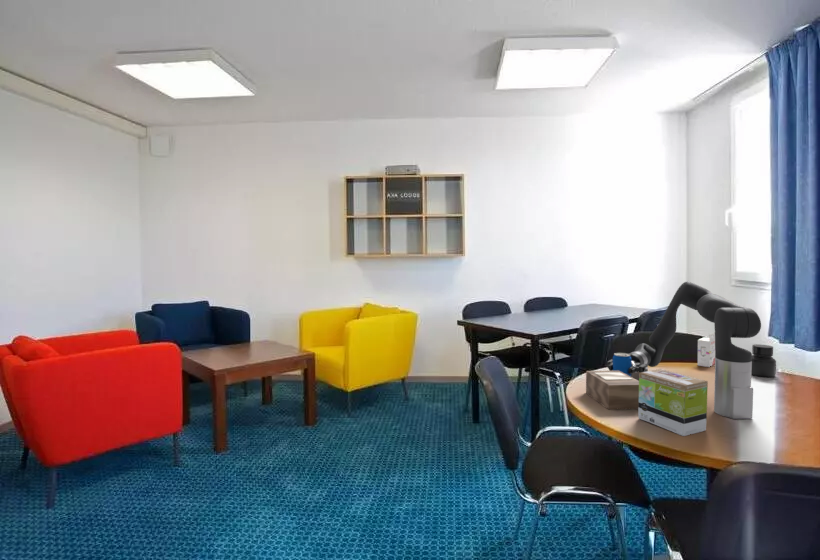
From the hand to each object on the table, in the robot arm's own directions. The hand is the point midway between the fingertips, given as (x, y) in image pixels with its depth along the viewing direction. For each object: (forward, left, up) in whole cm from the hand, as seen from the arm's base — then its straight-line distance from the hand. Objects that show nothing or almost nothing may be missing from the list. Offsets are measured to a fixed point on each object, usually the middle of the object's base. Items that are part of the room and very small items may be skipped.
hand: (619, 369), depth 172 cm
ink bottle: (+14, -66, -7) cm, 67 cm away
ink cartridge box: (+32, -55, -7) cm, 64 cm away
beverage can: (+2, -2, -7) cm, 7 cm away
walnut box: (-15, +9, -7) cm, 19 cm away
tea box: (-38, +3, -7) cm, 39 cm away
